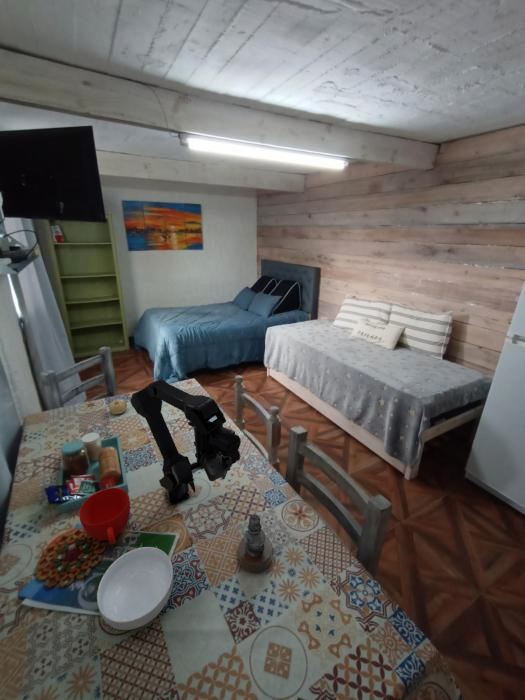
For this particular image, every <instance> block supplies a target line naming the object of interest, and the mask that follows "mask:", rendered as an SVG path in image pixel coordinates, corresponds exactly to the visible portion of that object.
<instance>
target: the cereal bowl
mask: <svg viewBox="0 0 525 700" xmlns="http://www.w3.org/2000/svg"><path fill="white" fill-rule="evenodd" d="M174 577H175V576H174V567H173V563H172V561H171V559H170V556H169V555H168V554H167V553H166V552H165V551H163V549H160V548H157V547H153V546H143V547H138V548H134V549H131V550H129V551H127V552H125V553H123V554H122V555H120V557H118V558H117V559H116V560H114V562H112V563H111V565H110V566H108V568H107V570H106V571H105V573H104V574H103V576H102V577H101V579H100V582H99V585H98V588H97V593H96V603H97V609H98V612H99V614H100V616H101V618H102V619H103V621H104V622H105V624H107V625H108V626H110V628H111V627H112V629H113V628H114V629H115V630H120V631H131V630H135V629H138V628H140V627H143V626H145V625H146V624H148V623H150V622H151V621H153V620H154V619H155V618H156V617H157V616H158V615H159V614H160V612H162V611H163V609H164V608H165V606H166V605H167V603H168V601H169V599H170V597H171V594H172V591H173V587H174V580H175V579H174Z"/></svg>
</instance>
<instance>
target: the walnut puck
mask: <svg viewBox="0 0 525 700" xmlns="http://www.w3.org/2000/svg"><path fill="white" fill-rule="evenodd" d="M265 536H266V540H265V543H264V546H265V548H264V551H263V553H262V554H261V555H259V556H256V557H254V556H250V555H249V554H247V552H246V550H245V542H244V537H242V539H241V540H240V542H239V544H238V561H239V564H240V566H241V567H242V569H244V570H245V571H246V572H248V573H251V574H260V573H263V572H264V571H266V570H267V569H268V568H269V566H270V565H271V563H272V561H273V560H272V559H273V544H272V542H271V540H270V538H269V537H268V536H267V535H265Z"/></svg>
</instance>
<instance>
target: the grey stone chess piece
mask: <svg viewBox="0 0 525 700" xmlns="http://www.w3.org/2000/svg"><path fill="white" fill-rule="evenodd" d="M266 536H267V535H266V534H265V532H264V530H262V524H261V517H260V516H259V514H256V513H253V514H251V515H250V516H249V517H248V524H247V530H246V532H245V533H244V535H243V538H244V542H245V550H246V552H247V554H249V555H250V556H254V557H256V556H259V555H261V554H262V553H263V551H264V548H265V546H264V543H265V540H266Z"/></svg>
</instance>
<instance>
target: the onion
mask: <svg viewBox="0 0 525 700" xmlns="http://www.w3.org/2000/svg"><path fill="white" fill-rule="evenodd" d="M127 408H128V404H127V402H126V400H124V399H123V398H117V399H114V400H113V401H111V402H110V403H109V405H108V409H109V412H110V413H112V415H120V414H123V413H125V412H126V410H127Z"/></svg>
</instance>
